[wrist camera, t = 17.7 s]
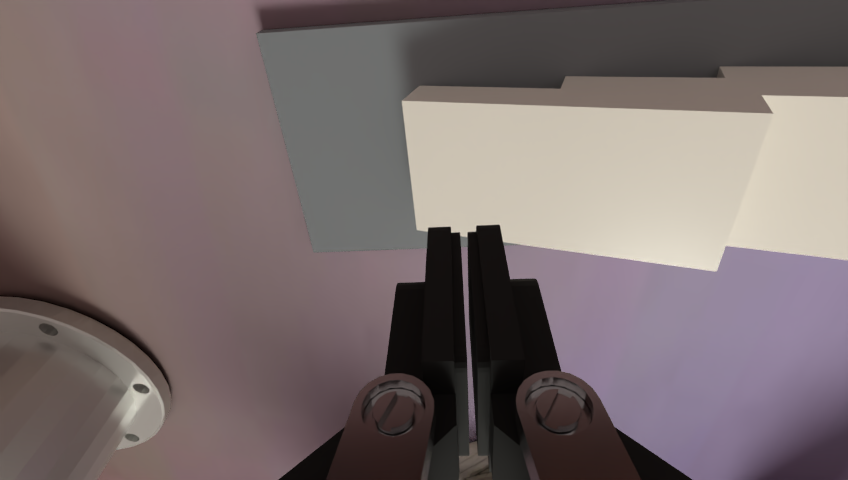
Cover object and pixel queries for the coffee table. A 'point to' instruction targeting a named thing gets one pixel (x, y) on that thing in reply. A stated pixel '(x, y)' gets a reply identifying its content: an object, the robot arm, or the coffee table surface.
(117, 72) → the coffee table surface
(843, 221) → the domino
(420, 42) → the domino mat
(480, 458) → the packaged product
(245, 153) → the coffee table surface
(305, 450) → the coffee table surface
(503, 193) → the domino
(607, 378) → the coffee table surface
